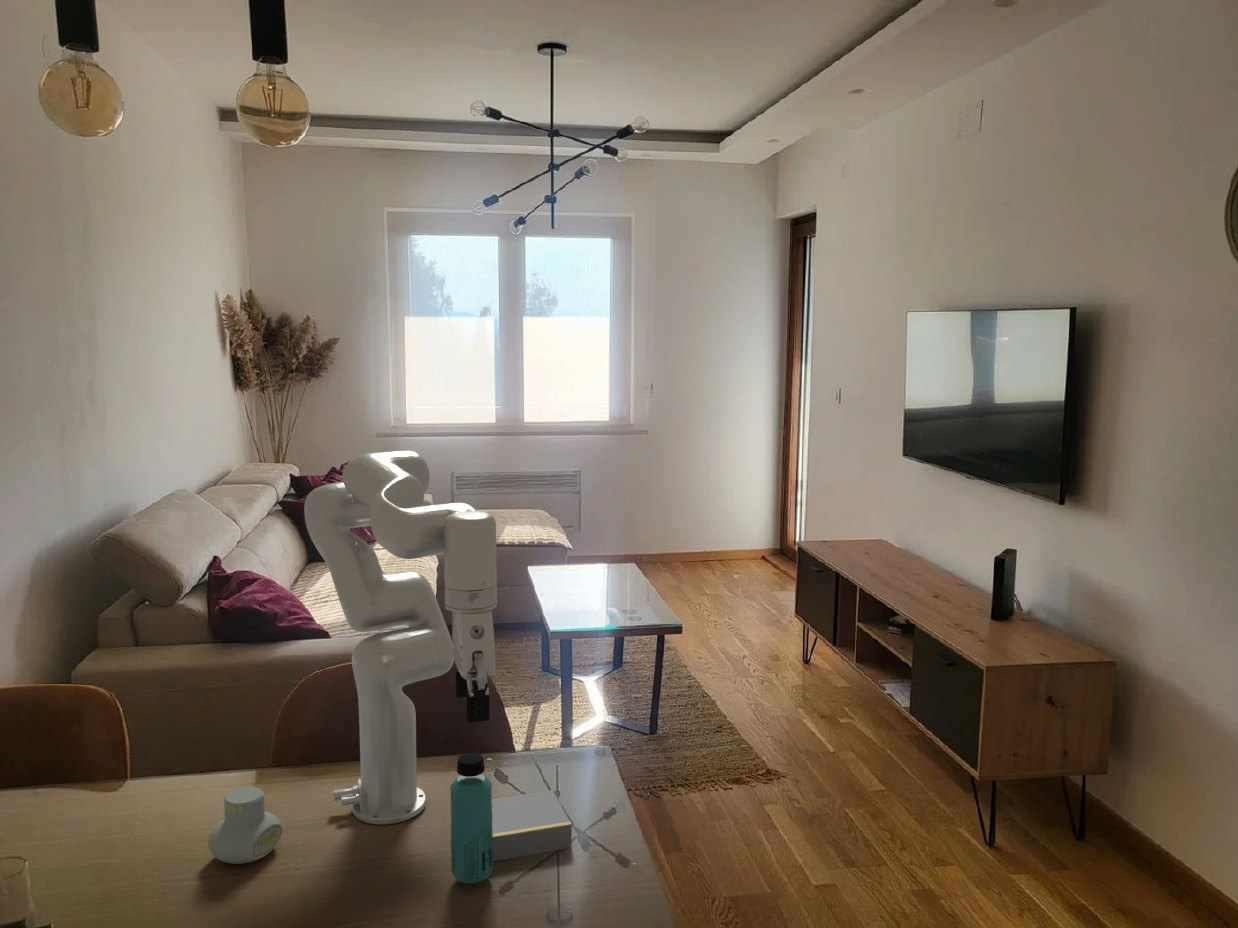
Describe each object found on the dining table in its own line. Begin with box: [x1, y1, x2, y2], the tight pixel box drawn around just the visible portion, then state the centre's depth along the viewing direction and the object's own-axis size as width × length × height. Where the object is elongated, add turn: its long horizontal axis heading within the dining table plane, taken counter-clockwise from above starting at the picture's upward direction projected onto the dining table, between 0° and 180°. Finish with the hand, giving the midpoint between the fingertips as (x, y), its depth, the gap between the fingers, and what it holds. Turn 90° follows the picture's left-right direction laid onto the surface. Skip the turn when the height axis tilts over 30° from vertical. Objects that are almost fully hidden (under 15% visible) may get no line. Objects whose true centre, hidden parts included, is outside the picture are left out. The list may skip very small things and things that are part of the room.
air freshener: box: [207, 786, 283, 865], centre depth 146 cm, size 11×8×10 cm
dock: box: [492, 789, 573, 862], centre depth 153 cm, size 14×12×4 cm
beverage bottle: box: [449, 752, 495, 884], centre depth 139 cm, size 6×7×20 cm
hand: (472, 708), depth 136 cm, fingers open, 9 cm apart
